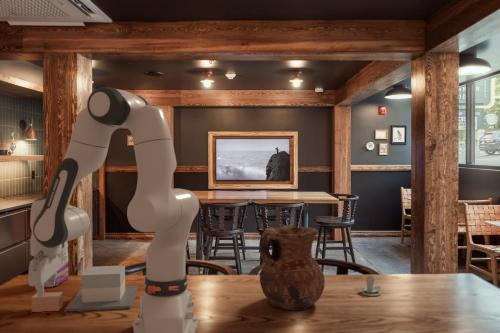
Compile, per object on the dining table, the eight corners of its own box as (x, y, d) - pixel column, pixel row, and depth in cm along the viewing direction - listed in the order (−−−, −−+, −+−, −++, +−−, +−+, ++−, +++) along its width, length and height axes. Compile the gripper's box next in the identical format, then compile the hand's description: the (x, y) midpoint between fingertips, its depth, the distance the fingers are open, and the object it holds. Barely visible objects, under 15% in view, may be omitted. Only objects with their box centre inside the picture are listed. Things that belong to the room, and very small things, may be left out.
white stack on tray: (130, 308, 130) (130, 277, 130) (64, 312, 127) (64, 280, 127) (138, 288, 150) (138, 261, 149) (81, 290, 147) (81, 263, 147)
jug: (278, 288, 149) (278, 220, 149) (333, 298, 139) (334, 225, 138) (247, 308, 130) (247, 230, 130) (308, 322, 120) (308, 237, 119)
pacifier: (383, 297, 141) (378, 291, 147) (383, 279, 140) (379, 274, 146) (362, 297, 141) (358, 290, 147) (362, 279, 141) (358, 273, 147)
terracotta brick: (58, 311, 128) (58, 296, 128) (31, 313, 127) (31, 297, 126) (62, 307, 132) (62, 291, 132) (36, 308, 131) (36, 293, 130)
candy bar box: (57, 278, 162) (56, 237, 161) (69, 278, 162) (68, 237, 161) (42, 287, 150) (41, 243, 150) (55, 287, 150) (54, 243, 150)
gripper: (45, 256, 119) (45, 302, 119) (66, 240, 139) (66, 280, 140) (22, 256, 118) (22, 303, 118) (46, 241, 138) (47, 281, 139)
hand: (46, 291), depth 129 cm, fingers open, 8 cm apart
